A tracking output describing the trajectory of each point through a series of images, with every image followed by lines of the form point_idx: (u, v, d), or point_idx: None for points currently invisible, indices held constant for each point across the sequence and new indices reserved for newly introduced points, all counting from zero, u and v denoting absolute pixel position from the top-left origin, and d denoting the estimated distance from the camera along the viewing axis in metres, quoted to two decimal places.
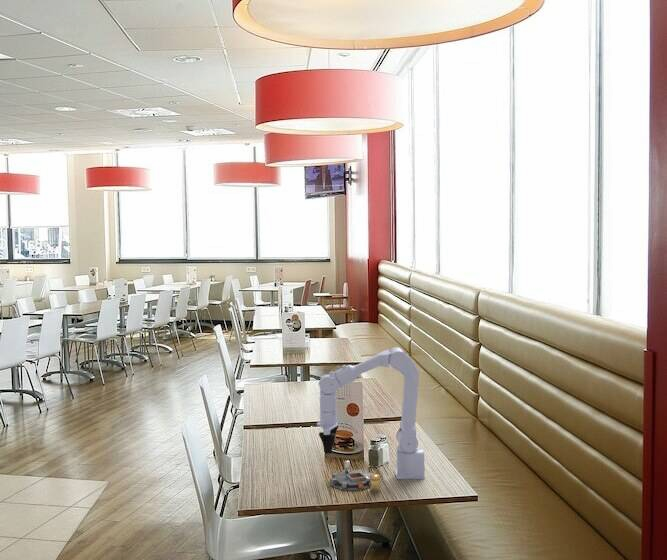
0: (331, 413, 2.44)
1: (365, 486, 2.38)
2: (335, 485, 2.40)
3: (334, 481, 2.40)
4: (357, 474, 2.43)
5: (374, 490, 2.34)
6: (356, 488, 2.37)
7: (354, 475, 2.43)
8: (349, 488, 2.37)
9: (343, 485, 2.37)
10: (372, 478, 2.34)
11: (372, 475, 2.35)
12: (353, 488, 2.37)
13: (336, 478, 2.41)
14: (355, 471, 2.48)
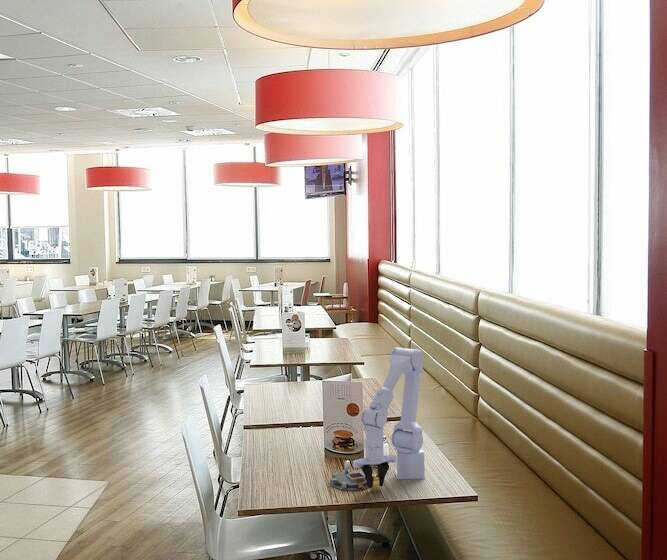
0: (368, 448, 2.32)
1: (365, 486, 2.38)
2: (335, 485, 2.40)
3: (334, 481, 2.40)
4: (357, 474, 2.43)
5: (374, 490, 2.34)
6: (356, 488, 2.37)
7: (354, 475, 2.43)
8: (349, 488, 2.37)
9: (343, 485, 2.37)
10: (372, 478, 2.34)
11: (372, 475, 2.35)
12: (353, 488, 2.37)
13: (336, 478, 2.41)
14: (355, 471, 2.48)
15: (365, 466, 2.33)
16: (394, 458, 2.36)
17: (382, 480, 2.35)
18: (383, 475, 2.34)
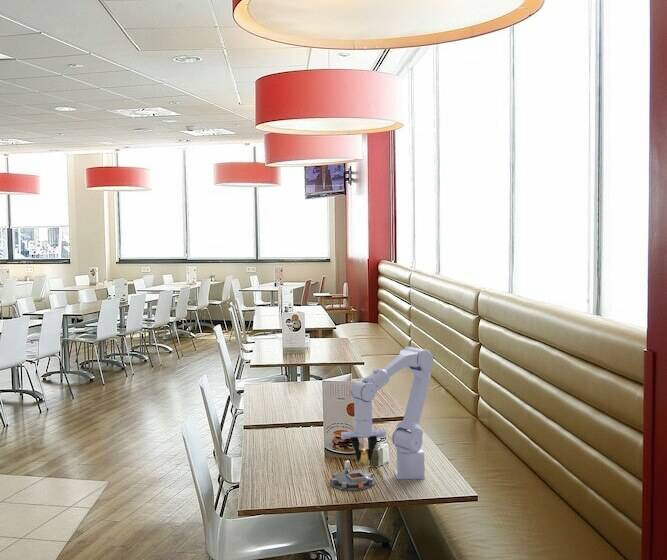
0: (356, 421, 2.35)
1: (365, 486, 2.38)
2: (335, 485, 2.40)
3: (334, 481, 2.40)
4: (357, 474, 2.43)
5: (362, 464, 2.36)
6: (356, 488, 2.37)
7: (354, 475, 2.43)
8: (349, 488, 2.37)
9: (343, 485, 2.37)
10: (360, 452, 2.36)
11: (361, 449, 2.37)
12: (353, 488, 2.37)
13: (336, 478, 2.41)
14: (355, 471, 2.48)
15: (352, 438, 2.36)
16: (383, 433, 2.37)
17: (370, 454, 2.36)
18: (371, 449, 2.36)
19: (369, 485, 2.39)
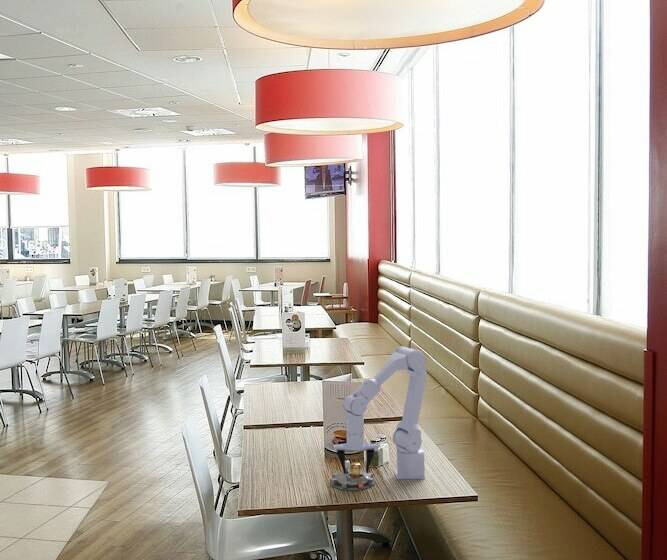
0: (347, 434, 2.38)
1: (365, 486, 2.38)
2: (335, 485, 2.40)
3: (334, 481, 2.40)
4: None
5: None
6: (356, 488, 2.37)
7: None
8: (349, 488, 2.37)
9: (343, 485, 2.37)
10: (352, 466, 2.39)
11: (353, 463, 2.40)
12: (353, 488, 2.37)
13: (336, 478, 2.41)
14: None
15: (344, 451, 2.39)
16: (375, 447, 2.39)
17: (367, 467, 2.39)
18: (368, 462, 2.38)
19: (369, 485, 2.39)
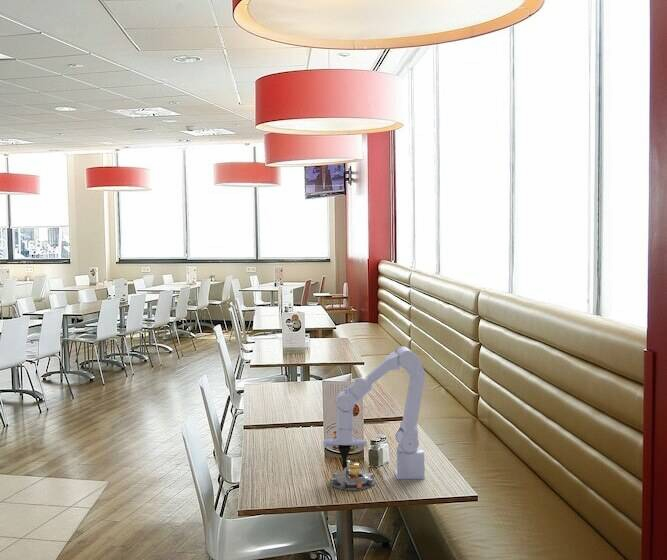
0: (337, 429, 2.44)
1: (365, 486, 2.38)
2: (335, 485, 2.40)
3: (333, 481, 2.41)
4: None
5: None
6: (356, 488, 2.37)
7: None
8: (349, 488, 2.37)
9: (342, 485, 2.37)
10: (351, 466, 2.39)
11: (351, 463, 2.40)
12: (353, 488, 2.37)
13: (336, 478, 2.42)
14: None
15: None
16: (364, 442, 2.45)
17: (343, 462, 2.45)
18: (344, 457, 2.45)
19: (369, 485, 2.39)
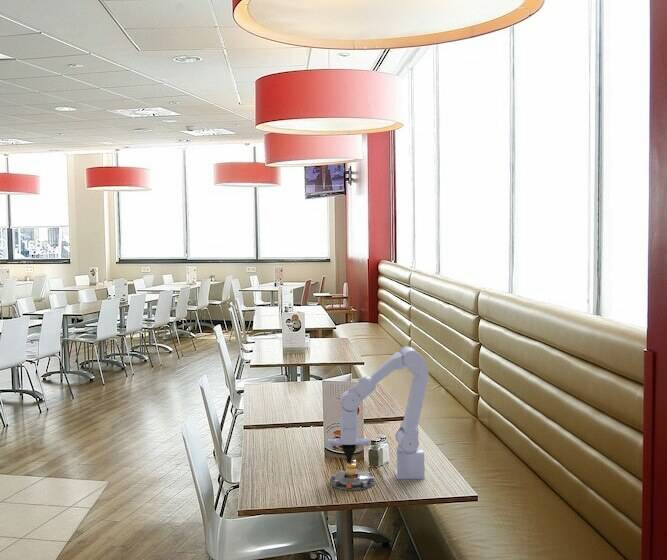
0: (341, 429, 2.44)
1: None
2: (335, 485, 2.40)
3: (332, 477, 2.44)
4: (356, 475, 2.42)
5: (347, 477, 2.39)
6: (356, 488, 2.37)
7: None
8: (349, 488, 2.37)
9: (334, 482, 2.40)
10: (347, 465, 2.39)
11: (349, 463, 2.40)
12: (353, 488, 2.37)
13: (335, 475, 2.45)
14: (362, 472, 2.47)
15: None
16: (368, 442, 2.45)
17: (349, 461, 2.45)
18: (349, 456, 2.45)
19: (369, 485, 2.39)
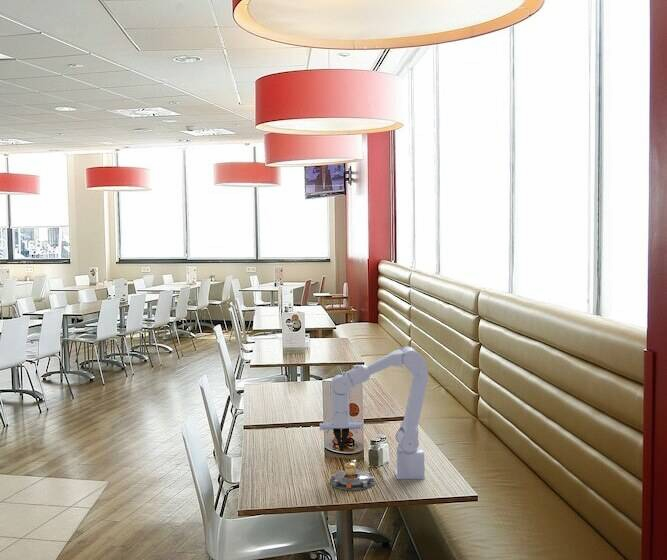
0: (333, 413, 2.44)
1: None
2: (335, 485, 2.40)
3: (332, 477, 2.44)
4: (356, 475, 2.42)
5: None
6: (356, 488, 2.37)
7: None
8: (349, 488, 2.37)
9: (334, 482, 2.40)
10: (346, 466, 2.39)
11: (347, 463, 2.40)
12: (353, 488, 2.37)
13: (335, 475, 2.45)
14: (362, 472, 2.47)
15: None
16: (360, 425, 2.45)
17: (342, 445, 2.45)
18: (343, 440, 2.44)
19: (369, 485, 2.39)
